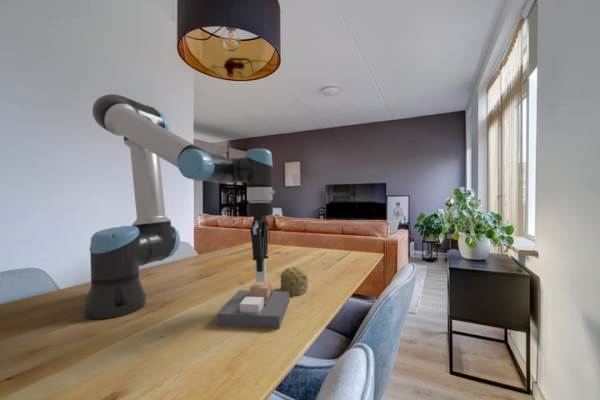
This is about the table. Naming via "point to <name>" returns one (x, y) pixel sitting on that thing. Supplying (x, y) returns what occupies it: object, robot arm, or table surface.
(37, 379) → the table surface
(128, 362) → the table surface
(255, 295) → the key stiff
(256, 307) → the key soft
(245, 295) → the key panel
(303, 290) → the rock
